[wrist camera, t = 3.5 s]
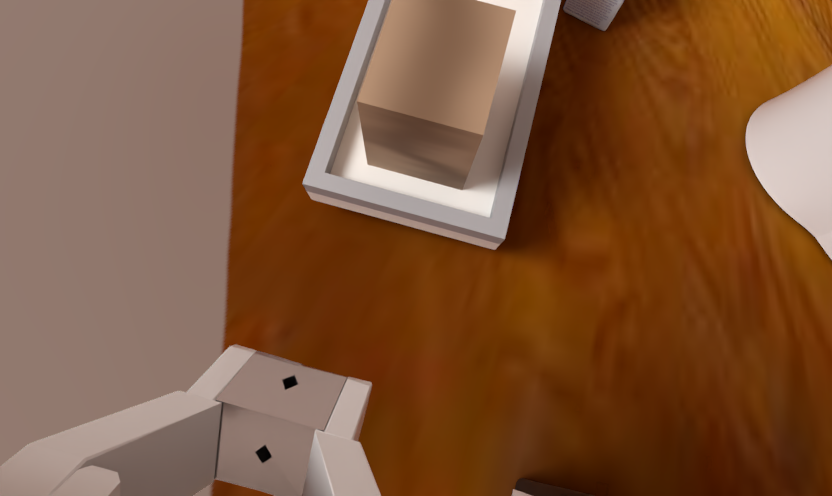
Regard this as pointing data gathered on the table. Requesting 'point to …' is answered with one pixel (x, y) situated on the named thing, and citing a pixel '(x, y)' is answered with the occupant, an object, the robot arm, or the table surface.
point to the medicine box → (593, 11)
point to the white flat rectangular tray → (495, 159)
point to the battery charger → (542, 489)
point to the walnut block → (432, 87)
